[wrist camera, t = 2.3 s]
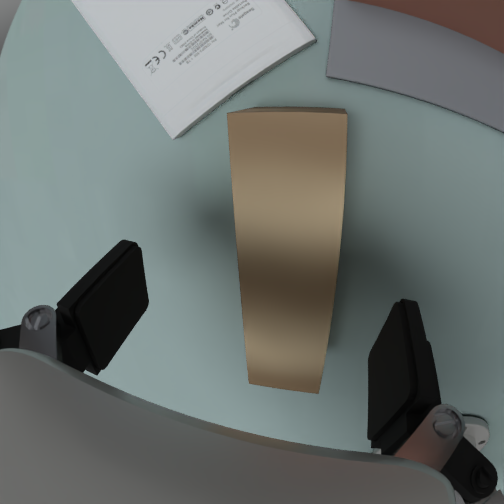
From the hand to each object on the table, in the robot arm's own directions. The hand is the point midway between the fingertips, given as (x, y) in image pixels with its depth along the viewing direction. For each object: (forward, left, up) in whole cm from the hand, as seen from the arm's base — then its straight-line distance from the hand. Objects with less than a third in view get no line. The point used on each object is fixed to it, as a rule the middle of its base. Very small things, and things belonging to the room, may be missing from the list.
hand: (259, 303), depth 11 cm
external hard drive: (+11, +7, -7) cm, 15 cm away
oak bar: (-1, -1, -6) cm, 6 cm away
